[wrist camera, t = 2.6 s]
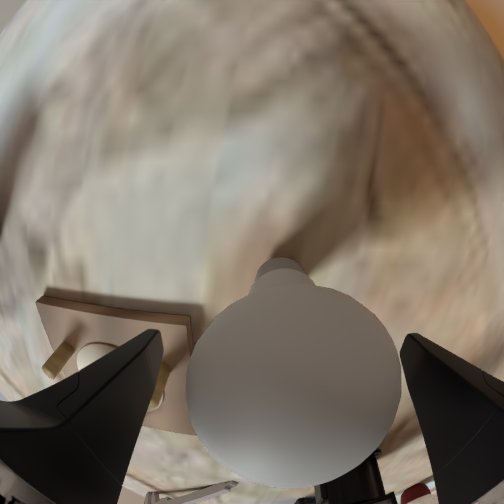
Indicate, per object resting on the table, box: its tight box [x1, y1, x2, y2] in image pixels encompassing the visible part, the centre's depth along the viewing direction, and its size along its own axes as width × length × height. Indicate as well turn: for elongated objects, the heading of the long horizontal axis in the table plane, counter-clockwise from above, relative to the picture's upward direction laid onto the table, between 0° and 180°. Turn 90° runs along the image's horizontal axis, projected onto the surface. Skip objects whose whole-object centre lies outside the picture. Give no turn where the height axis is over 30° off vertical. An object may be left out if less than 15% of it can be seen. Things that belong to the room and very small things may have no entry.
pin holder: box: [35, 296, 197, 436], centre depth 16 cm, size 12×12×4 cm
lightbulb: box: [185, 257, 401, 488], centre depth 9 cm, size 6×6×11 cm
